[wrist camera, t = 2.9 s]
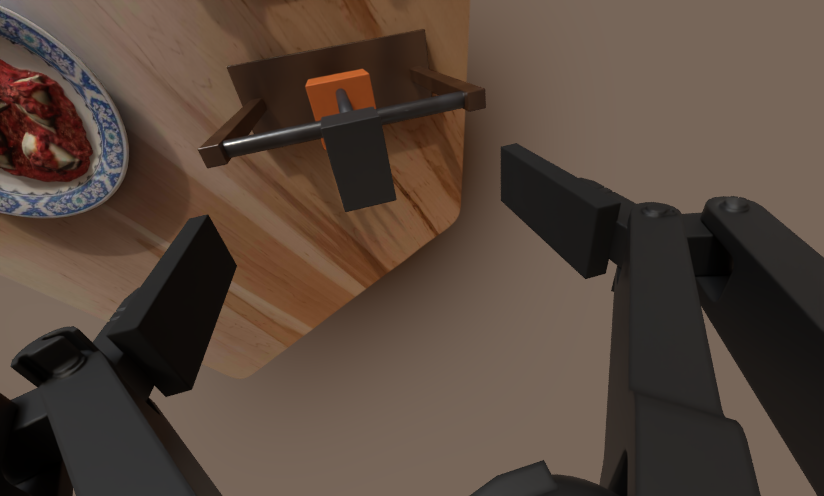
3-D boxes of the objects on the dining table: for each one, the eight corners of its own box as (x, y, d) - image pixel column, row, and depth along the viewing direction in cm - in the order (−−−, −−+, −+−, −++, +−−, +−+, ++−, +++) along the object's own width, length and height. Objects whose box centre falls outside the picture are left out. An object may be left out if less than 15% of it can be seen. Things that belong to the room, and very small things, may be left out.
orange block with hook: (363, 68, 36) (404, 100, 18) (374, 125, 40) (420, 202, 21) (307, 79, 36) (289, 124, 17) (324, 136, 39) (324, 225, 20)
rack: (421, 29, 46) (498, 26, 26) (430, 106, 52) (499, 152, 32) (229, 65, 44) (148, 93, 24) (260, 142, 49) (216, 217, 29)
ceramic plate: (128, 37, 40) (115, 37, 38) (141, 225, 52) (132, 235, 49) (-210, -64, 31) (-255, -72, 29) (-101, 190, 43) (-127, 200, 41)
